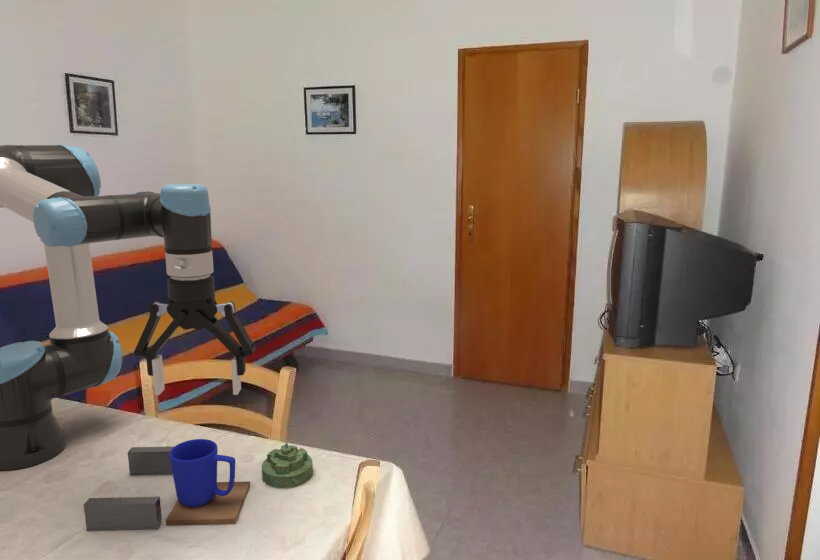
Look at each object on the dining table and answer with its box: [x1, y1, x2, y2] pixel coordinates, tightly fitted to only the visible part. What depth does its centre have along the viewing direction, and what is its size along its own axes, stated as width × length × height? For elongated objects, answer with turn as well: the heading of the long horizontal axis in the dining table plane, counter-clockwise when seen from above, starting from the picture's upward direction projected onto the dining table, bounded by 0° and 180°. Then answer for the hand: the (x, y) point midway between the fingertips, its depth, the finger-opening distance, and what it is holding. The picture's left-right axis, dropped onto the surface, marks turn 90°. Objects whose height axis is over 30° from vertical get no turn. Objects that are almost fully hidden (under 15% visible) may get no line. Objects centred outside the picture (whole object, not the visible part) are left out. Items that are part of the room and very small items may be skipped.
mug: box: [169, 438, 236, 507], centre depth 108 cm, size 8×12×10 cm
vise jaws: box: [83, 445, 174, 532], centre depth 113 cm, size 23×12×5 cm, turn 3°
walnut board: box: [165, 480, 251, 526], centre depth 110 cm, size 12×12×1 cm
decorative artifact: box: [261, 442, 314, 489], centre depth 120 cm, size 10×7×10 cm
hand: (198, 392), depth 106 cm, fingers open, 13 cm apart
